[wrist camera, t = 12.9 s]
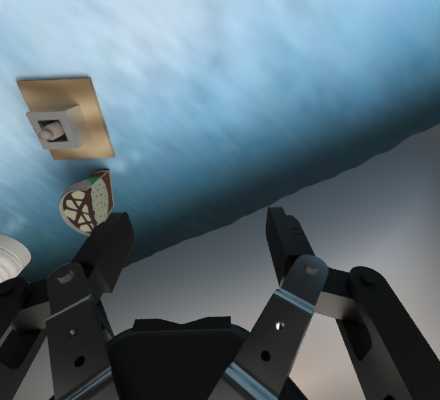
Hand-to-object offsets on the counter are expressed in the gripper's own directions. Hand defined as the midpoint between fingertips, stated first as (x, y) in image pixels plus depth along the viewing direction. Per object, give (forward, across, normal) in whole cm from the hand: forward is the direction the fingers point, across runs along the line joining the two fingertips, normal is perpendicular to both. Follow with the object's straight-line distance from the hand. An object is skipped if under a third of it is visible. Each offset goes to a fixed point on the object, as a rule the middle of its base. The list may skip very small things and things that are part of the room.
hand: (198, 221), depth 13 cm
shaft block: (+33, +26, +2) cm, 42 cm away
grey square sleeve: (+32, +26, +2) cm, 41 cm away
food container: (+33, +26, +16) cm, 45 cm away
